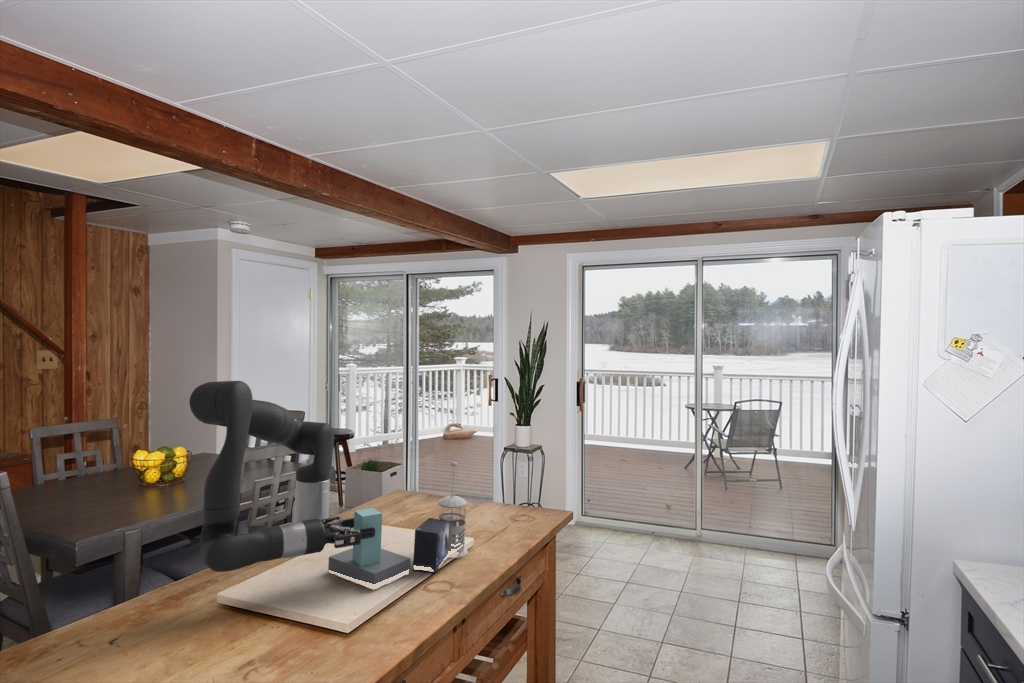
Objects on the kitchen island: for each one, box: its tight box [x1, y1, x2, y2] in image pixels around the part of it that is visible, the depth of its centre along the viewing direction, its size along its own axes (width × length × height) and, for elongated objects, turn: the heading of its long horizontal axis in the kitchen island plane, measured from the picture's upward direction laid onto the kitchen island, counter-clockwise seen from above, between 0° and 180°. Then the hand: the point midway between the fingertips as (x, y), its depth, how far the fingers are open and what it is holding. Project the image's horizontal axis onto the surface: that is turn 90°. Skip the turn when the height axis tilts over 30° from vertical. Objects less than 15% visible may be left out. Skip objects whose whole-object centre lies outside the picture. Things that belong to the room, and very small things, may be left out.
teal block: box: [352, 507, 383, 566], centre depth 145 cm, size 5×5×12 cm
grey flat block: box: [327, 547, 411, 584], centre depth 147 cm, size 16×12×4 cm
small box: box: [412, 517, 450, 574], centre depth 155 cm, size 11×6×10 cm, turn 168°
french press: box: [437, 461, 469, 559], centre depth 165 cm, size 10×12×25 cm
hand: (367, 526), depth 145 cm, fingers open, 8 cm apart
